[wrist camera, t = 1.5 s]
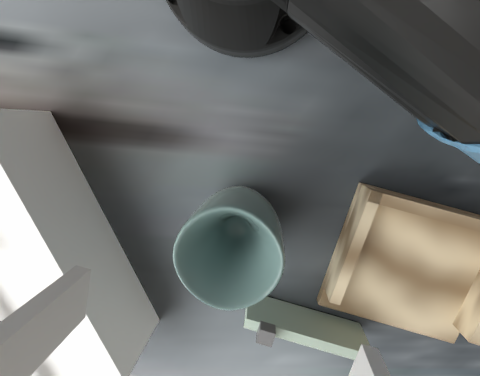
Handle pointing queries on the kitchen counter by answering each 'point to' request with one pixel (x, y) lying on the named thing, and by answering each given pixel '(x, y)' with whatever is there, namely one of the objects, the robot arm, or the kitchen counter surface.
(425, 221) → the tray
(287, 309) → the gate
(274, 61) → the kitchen counter surface
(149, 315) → the tissue box
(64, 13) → the kitchen counter surface
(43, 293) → the robot arm
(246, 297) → the cup
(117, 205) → the kitchen counter surface
